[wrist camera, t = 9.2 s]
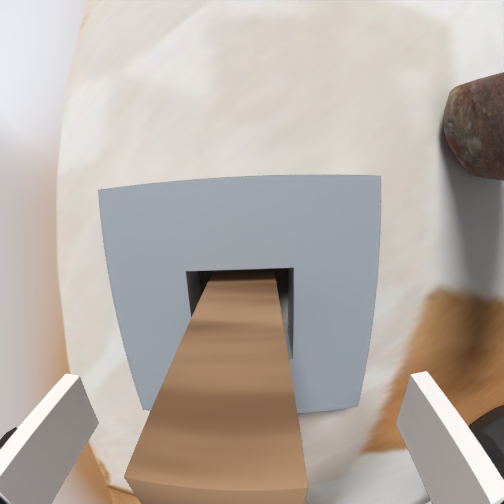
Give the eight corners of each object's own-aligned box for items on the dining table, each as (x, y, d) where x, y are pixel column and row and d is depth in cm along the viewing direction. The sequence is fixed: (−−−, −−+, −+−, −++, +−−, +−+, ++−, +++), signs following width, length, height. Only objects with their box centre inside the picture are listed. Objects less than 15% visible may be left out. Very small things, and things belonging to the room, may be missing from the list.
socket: (347, 379, 22) (357, 406, 19) (155, 383, 23) (143, 409, 19) (360, 175, 19) (380, 175, 15) (122, 187, 19) (98, 190, 16)
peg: (274, 320, 21) (295, 541, 6) (218, 322, 21) (166, 535, 6) (273, 266, 20) (307, 487, 5) (213, 268, 20) (124, 476, 5)
